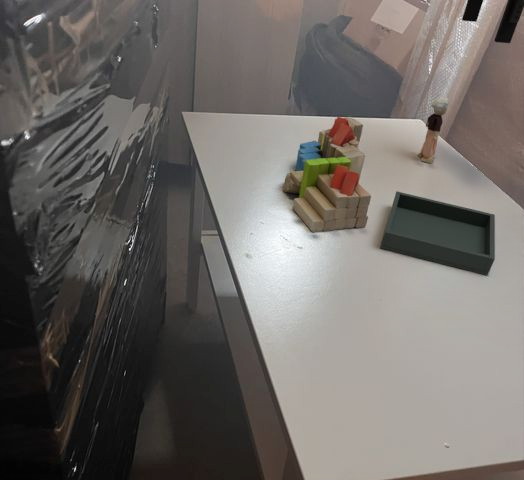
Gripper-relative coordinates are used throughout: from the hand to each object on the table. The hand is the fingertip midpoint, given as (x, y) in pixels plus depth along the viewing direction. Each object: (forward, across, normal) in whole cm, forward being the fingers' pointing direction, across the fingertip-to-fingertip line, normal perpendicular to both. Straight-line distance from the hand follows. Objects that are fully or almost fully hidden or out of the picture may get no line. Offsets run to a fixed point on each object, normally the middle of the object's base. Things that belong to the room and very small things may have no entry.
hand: (484, 31), depth 106 cm
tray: (+26, +29, -13) cm, 41 cm away
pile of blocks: (+26, +10, -29) cm, 40 cm away
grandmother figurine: (+26, -4, -2) cm, 26 cm away
